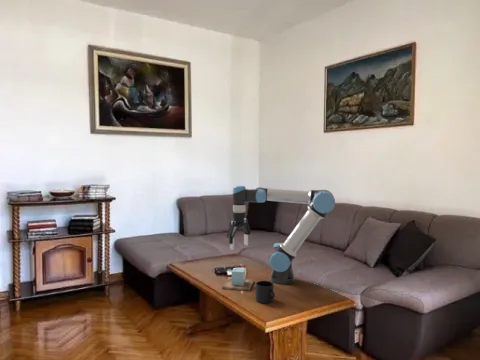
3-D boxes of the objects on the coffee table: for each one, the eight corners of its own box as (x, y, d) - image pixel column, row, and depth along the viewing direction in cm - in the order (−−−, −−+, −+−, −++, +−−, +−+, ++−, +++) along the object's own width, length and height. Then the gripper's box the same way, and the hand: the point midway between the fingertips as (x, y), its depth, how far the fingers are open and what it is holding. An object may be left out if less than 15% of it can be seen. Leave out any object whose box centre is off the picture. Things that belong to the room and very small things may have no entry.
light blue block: (245, 281, 225) (245, 267, 224) (243, 285, 218) (243, 271, 217) (233, 281, 226) (233, 267, 225) (231, 284, 219) (231, 270, 218)
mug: (267, 306, 190) (268, 289, 189) (251, 299, 199) (252, 283, 198) (280, 302, 196) (280, 285, 196) (264, 295, 205) (264, 279, 205)
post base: (253, 281, 228) (253, 270, 228) (249, 290, 212) (249, 278, 212) (228, 280, 231) (228, 268, 231) (222, 288, 215) (222, 276, 215)
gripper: (246, 209, 234) (246, 242, 235) (220, 213, 214) (220, 250, 215) (256, 210, 229) (256, 244, 230) (230, 214, 210) (230, 252, 211)
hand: (239, 247), depth 223 cm, fingers open, 13 cm apart
